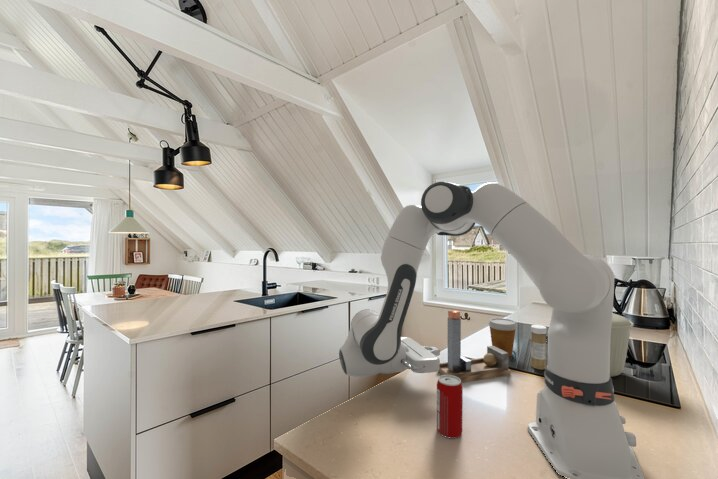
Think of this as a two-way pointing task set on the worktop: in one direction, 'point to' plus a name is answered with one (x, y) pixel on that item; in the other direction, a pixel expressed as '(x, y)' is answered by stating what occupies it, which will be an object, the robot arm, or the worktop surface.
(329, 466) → the worktop surface
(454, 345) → the slider
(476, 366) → the cracker bench
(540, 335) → the sprinkles bottle
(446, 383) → the soda can
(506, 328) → the disposable coffee cup
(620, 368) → the canister
